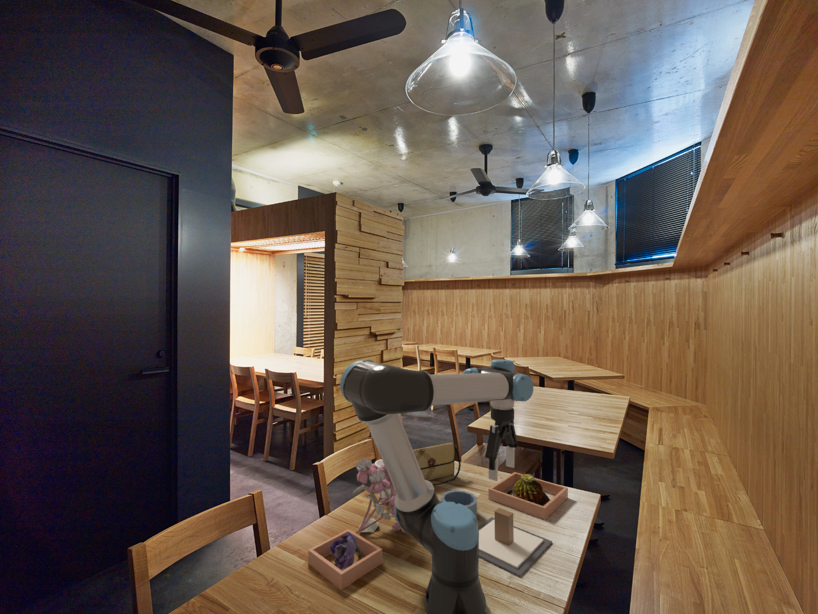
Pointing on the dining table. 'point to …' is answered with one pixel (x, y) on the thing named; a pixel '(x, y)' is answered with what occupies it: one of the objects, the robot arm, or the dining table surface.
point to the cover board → (508, 551)
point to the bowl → (461, 499)
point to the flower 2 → (378, 487)
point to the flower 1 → (345, 551)
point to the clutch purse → (437, 461)
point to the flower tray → (351, 572)
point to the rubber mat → (526, 563)
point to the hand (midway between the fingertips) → (502, 473)
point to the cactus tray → (526, 506)
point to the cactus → (529, 490)
